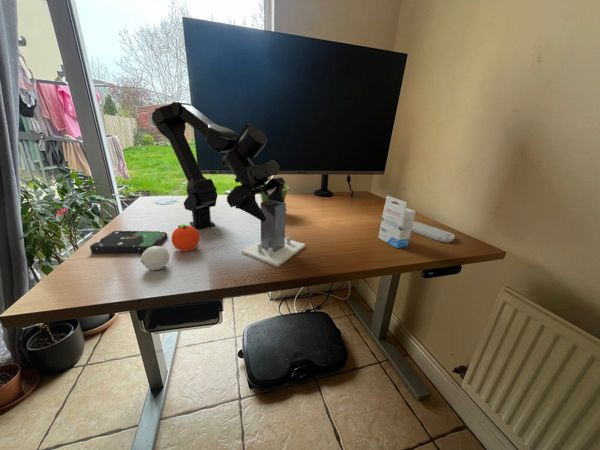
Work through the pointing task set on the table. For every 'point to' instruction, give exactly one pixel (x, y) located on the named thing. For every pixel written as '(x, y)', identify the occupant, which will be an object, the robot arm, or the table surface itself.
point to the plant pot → (284, 192)
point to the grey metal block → (273, 225)
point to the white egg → (155, 258)
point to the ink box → (396, 223)
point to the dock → (274, 257)
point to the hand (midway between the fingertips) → (275, 216)
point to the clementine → (185, 238)
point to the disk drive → (128, 242)
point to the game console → (432, 232)
